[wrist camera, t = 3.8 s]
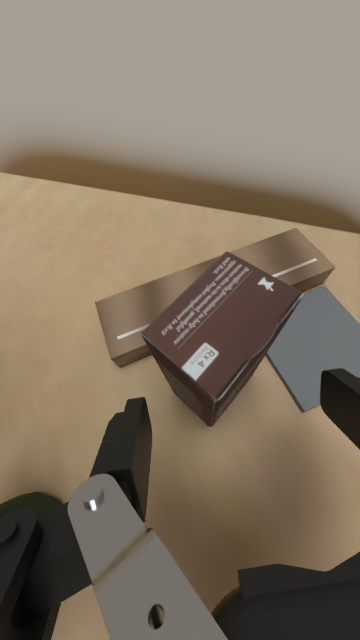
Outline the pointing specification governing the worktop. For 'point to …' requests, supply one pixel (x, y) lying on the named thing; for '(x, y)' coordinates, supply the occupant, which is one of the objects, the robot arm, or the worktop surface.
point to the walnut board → (154, 297)
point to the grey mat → (315, 346)
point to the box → (219, 333)
